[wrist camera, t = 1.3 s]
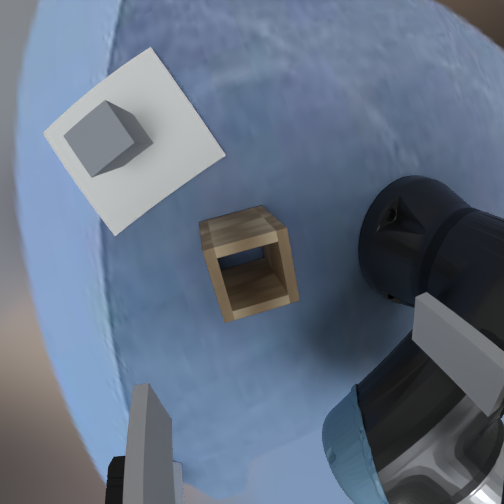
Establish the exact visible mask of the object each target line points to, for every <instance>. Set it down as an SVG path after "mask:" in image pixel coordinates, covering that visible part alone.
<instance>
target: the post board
mask: <svg viewBox="0 0 504 504" xmlns="http://www.w3.org/2000/svg"><path fill="white" fill-rule="evenodd" d="M43 134H44V136H45V137H46V139H47V140H48V142H49V144H50V145H51V147H52V148H53V150H54V151H55V153H56V154H57V156H58V157H59V159H60V160H61V162H62V163H63V165H64V166H65V168H66V169H67V171H68V172H69V174H70V175H71V177H72V178H73V180H74V181H75V183H76V184H77V185H78V187H79V188H80V190H81V191H82V192H83V194H84V195H85V197H86V198H87V199H88V201H89V202H90V204H91V205H92V206H93V208H94V209H95V210H96V212H97V213H98V214H99V216H100V217H101V218H102V220H103V221H104V222H105V224H106V225H107V226H108V228H109V229H110V230H111V232H112V233H113V234H114V235H115V236H116V235H117V234H119V233H120V232H121V231H122V230H124V229H125V228H126V227H127V226H129V225H130V224H131V223H132V222H134V221H135V220H136V219H138V218H139V217H140V216H141V215H143V214H144V213H145V212H147V211H148V210H149V209H151V208H152V207H153V206H155V205H156V204H157V203H159V202H160V201H161V200H163V199H164V198H165V197H167V196H168V195H170V194H171V193H172V192H174V191H175V190H176V189H178V188H179V187H181V186H182V185H183V184H185V183H186V182H188V181H189V180H190V179H192V178H193V177H195V176H196V175H198V174H199V173H201V172H202V171H203V170H205V169H206V168H208V167H209V166H211V165H212V164H214V163H215V162H217V161H218V160H220V159H221V158H223V157H224V156H226V155H225V153H224V152H223V150H222V149H221V147H220V146H219V144H218V143H217V141H216V140H215V138H214V137H213V135H212V134H211V132H210V131H209V130H208V128H207V127H206V125H205V124H204V122H203V121H202V119H201V118H200V116H199V115H198V113H197V112H196V111H195V109H194V108H193V106H192V105H191V103H190V102H189V100H188V99H187V98H186V96H185V95H184V93H183V92H182V90H181V89H180V88H179V86H178V85H177V83H176V82H175V80H174V79H173V78H172V76H171V75H170V73H169V72H168V71H167V69H166V68H165V66H164V65H163V64H162V62H161V61H160V59H159V58H158V57H157V55H156V54H155V52H154V51H153V50H152V48H151V47H150V48H148V49H147V50H145V51H144V52H142V53H141V54H139V55H138V56H136V57H135V58H133V59H132V60H130V61H129V62H127V63H126V64H124V65H123V66H122V67H120V68H119V69H117V70H116V71H115V72H113V73H112V74H111V75H109V76H108V77H107V78H105V79H104V80H103V81H101V82H100V83H99V84H98V85H96V86H95V87H94V88H93V89H91V90H90V91H89V92H88V93H86V94H85V95H84V96H83V97H82V98H80V99H79V100H78V101H77V102H76V103H75V104H73V105H72V106H71V107H70V108H69V109H68V110H67V111H66V112H65V113H63V114H62V115H61V116H60V117H59V118H58V119H57V120H56V121H55V122H54V123H53V124H52V125H51V126H50V127H49V128H48V129H46V130H45V131H44V132H43Z"/></svg>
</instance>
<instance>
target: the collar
mask: <svg viewBox="0 0 504 504" xmlns="http://www.w3.org/2000/svg"><path fill="white" fill-rule="evenodd" d="M199 226H200V234H201V242H202V250H203V254H204V257H205V261H206V264H207V267H208V271H209V274H210V277H211V281H212V284H213V287H214V290H215V294H216V297H217V300H218V303H219V306H220V309H221V313H222V316H223V319H224V322H225V323H226V322H229V321H233V320H237V319H240V318H244V317H247V316H251V315H254V314H257V313H261V312H264V311H267V310H271V309H274V308H277V307H281V306H284V305H287V304H290V303H294V302H297V301H300V299H299V293H298V287H297V281H296V275H295V269H294V264H293V258H292V253H291V247H290V242H289V236H288V231H287V227H285V226H284V225H283V224H282V223H281V222H280V221H279V220H278V219H276V218H275V217H274V216H273V215H272V214H271V213H270V212H268V211H267V210H266V209H265V208H264V207H263V206H262V205H261V206H257V207H254V208H250V209H246V210H242V211H238V212H235V213H231V214H227V215H223V216H220V217H216V218H212V219H209V220H205V221H201V222H199ZM260 246H262V249H263V253H264V258H262V259H259V260H255V261H252V262H248V263H244V264H241V265H237V266H234V267H230V268H227V269H223V270H221V267H220V264H219V260H218V258H220V257H224V256H227V255H231V254H235V253H238V252H242V251H245V250H249V249H253V248H256V247H260Z"/></svg>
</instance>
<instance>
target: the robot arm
mask: <svg viewBox="0 0 504 504" xmlns="http://www.w3.org/2000/svg"><path fill="white" fill-rule="evenodd" d="M359 261H360V266H361V269H362V272H363V275H364V277H365V279H366V280H367V282H368V283H369V284H370V286H371V287H372V288H373V289H375V290H376V291H377V292H378V293H379V294H381V295H382V296H383V297H384V298H386V299H388V300H390V301H392V302H395V303H399V304H403V305H406V306H410V307H414V308H415V310H414V322H413V329H412V330H411V331H410V332H409V333H408V335H407V336H406V337H405V338H404V339H403V340H402V341H401V342H400V343H399V344H398V345H397V346H396V348H395V349H394V350H393V351H392V352H391V353H390V354H389V355H388V356H387V357H386V358H385V359H384V360H383V361H382V362H381V363H380V364H379V365H378V366H377V367H376V368H375V369H374V370H373V371H372V372H371V373H370V374H369V375H368V376H367V377H365V378H364V379H363V380H362V381H361V382H360V383H359V384H355V385H354V386H353V387H352V389H351V392H350V393H349V394H348V395H347V396H346V397H345V398H344V399H343V400H342V401H341V402H339V403H338V404H337V405H336V406H335V407H334V408H333V409H332V410H331V411H330V412H329V414H328V415H327V417H326V418H325V421H324V424H323V429H322V441H323V447H324V451H325V455H326V458H327V460H328V462H329V465H330V468H331V470H332V473H333V474H334V476H335V478H336V480H337V482H338V483H339V485H340V487H341V488H342V490H343V491H344V492H345V494H346V495H347V496H348V497H349V498H350V499H351V500H352V501H353V503H355V504H504V424H503V422H502V420H501V419H500V418H502V416H503V415H504V219H503V218H500V217H497V216H495V215H492V214H489V213H486V212H483V211H480V210H477V209H475V208H472V207H471V206H470V205H468V204H467V203H466V202H465V201H464V200H463V199H462V198H460V197H459V196H458V195H457V194H456V193H454V192H453V191H452V190H451V189H450V188H448V187H447V186H446V185H445V184H443V183H441V182H439V181H437V180H435V179H431V178H427V177H423V176H407V177H404V178H401V179H399V180H397V181H395V182H393V183H392V184H390V185H389V186H388V187H387V188H385V189H384V190H383V191H382V192H381V193H380V195H379V196H378V197H377V198H376V200H375V201H374V202H373V204H372V206H371V207H370V209H369V211H368V213H367V215H366V218H365V220H364V223H363V226H362V230H361V234H360V240H359ZM499 417H500V418H499ZM107 478H108V480H107V485H106V486H107V488H106V498H105V504H176V503H175V490H174V473H173V451H172V419H171V418H170V416H169V415H168V413H167V412H166V410H165V408H164V407H163V405H162V404H161V402H160V401H159V399H158V397H157V396H156V394H155V392H154V391H153V389H152V388H151V386H150V384H149V383H145V384H140V385H135V386H133V393H132V401H131V409H130V417H129V425H128V435H127V445H126V456H117V457H113V459H112V461H111V463H110V465H109V467H108V475H107Z"/></svg>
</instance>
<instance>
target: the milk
mask: <svg viewBox="0 0 504 504" xmlns="http://www.w3.org/2000/svg"><path fill="white" fill-rule="evenodd" d="M173 473H174V490H175V503H176V504H185V503H184V492H183V480H182V466H181V463H178V462H174V461H173Z"/></svg>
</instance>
